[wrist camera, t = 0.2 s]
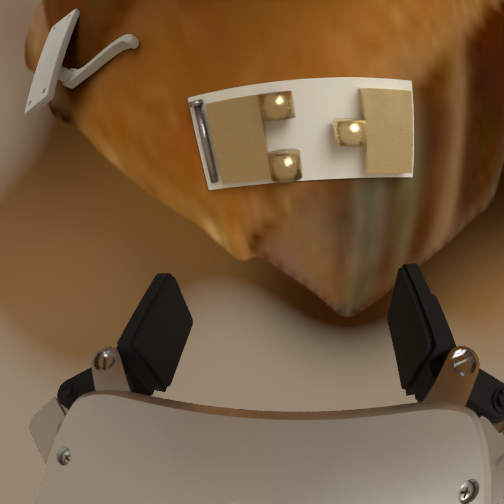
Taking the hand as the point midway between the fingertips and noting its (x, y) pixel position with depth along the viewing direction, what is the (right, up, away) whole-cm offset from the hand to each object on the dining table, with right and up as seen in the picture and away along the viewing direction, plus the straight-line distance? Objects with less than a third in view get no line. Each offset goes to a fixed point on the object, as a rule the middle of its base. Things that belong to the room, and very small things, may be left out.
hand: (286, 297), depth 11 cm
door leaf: (+16, +19, +22) cm, 33 cm away
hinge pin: (-8, +18, +27) cm, 33 cm away
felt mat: (+6, +19, +24) cm, 31 cm away
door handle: (-28, +37, +18) cm, 50 cm away
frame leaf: (-2, +18, +25) cm, 31 cm away
